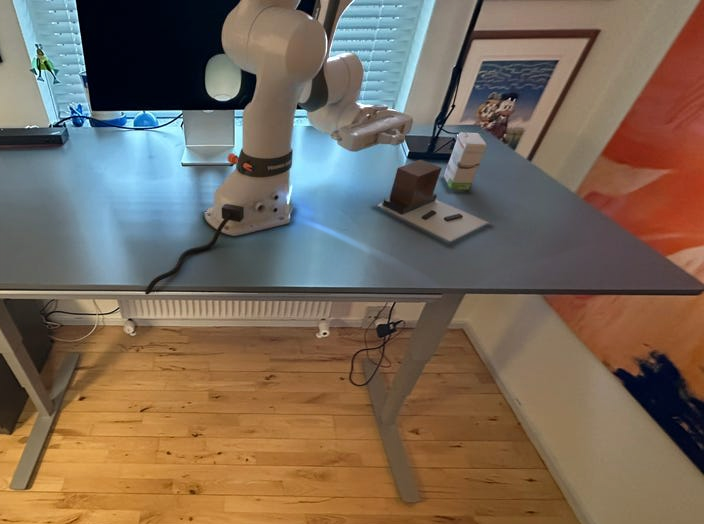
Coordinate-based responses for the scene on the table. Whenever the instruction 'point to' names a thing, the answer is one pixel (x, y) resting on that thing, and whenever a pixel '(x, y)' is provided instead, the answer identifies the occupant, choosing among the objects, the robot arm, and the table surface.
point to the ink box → (464, 160)
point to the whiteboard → (442, 220)
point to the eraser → (413, 187)
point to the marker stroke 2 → (453, 217)
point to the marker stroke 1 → (428, 215)
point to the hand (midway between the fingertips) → (400, 140)
